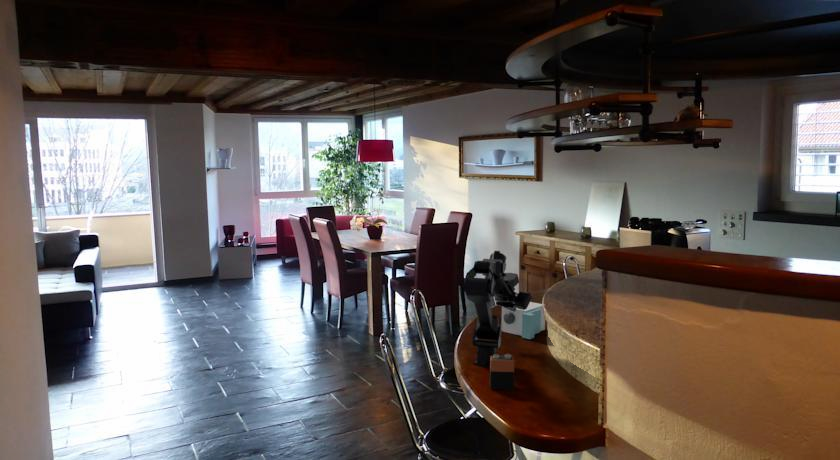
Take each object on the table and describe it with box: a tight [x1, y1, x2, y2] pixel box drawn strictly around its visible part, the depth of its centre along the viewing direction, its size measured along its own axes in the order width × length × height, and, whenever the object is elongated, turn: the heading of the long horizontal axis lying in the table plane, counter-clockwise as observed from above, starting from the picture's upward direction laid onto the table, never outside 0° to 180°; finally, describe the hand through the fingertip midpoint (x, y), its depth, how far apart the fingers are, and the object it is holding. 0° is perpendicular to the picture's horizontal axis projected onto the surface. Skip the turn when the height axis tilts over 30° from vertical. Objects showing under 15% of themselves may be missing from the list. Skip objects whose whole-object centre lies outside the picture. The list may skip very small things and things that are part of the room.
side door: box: [521, 309, 541, 340], centre depth 232 cm, size 11×4×9 cm, turn 137°
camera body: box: [500, 301, 546, 337], centre depth 240 cm, size 15×11×10 cm
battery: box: [489, 353, 515, 391], centre depth 179 cm, size 4×7×10 cm, turn 87°
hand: (515, 310), depth 221 cm, fingers closed
